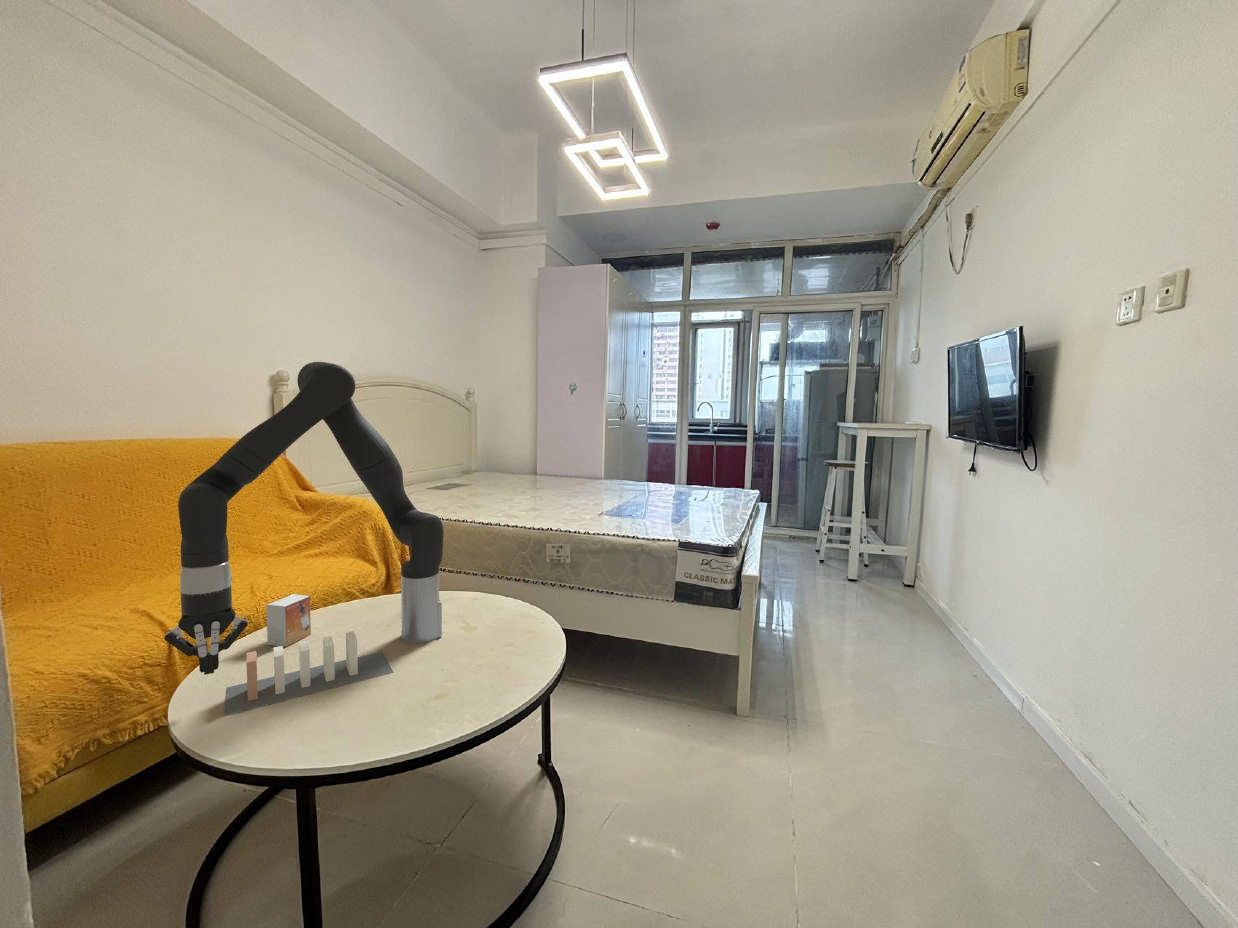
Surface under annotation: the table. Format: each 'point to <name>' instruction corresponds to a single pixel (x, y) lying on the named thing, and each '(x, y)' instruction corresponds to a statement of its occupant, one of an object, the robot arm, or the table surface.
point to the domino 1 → (252, 676)
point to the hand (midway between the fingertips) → (209, 672)
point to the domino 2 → (279, 670)
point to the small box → (288, 620)
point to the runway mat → (367, 669)
